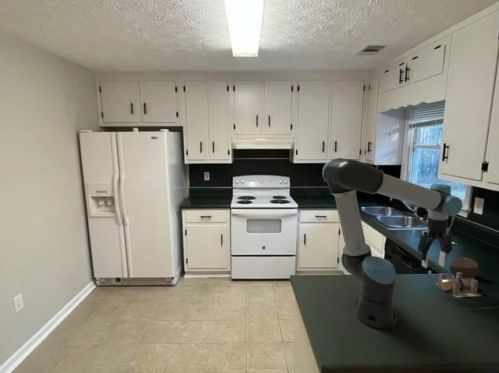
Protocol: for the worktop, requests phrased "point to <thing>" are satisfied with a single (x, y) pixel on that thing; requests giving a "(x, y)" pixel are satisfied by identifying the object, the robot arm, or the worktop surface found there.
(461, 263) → the rock
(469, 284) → the tube
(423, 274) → the worktop surface
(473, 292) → the board
